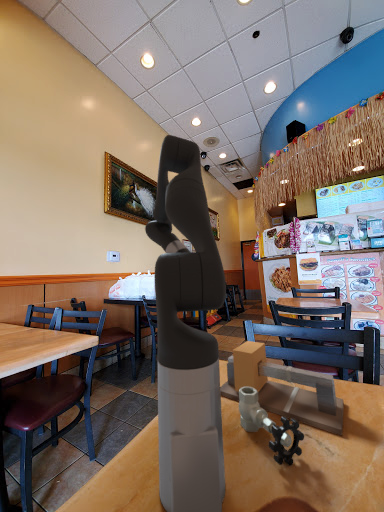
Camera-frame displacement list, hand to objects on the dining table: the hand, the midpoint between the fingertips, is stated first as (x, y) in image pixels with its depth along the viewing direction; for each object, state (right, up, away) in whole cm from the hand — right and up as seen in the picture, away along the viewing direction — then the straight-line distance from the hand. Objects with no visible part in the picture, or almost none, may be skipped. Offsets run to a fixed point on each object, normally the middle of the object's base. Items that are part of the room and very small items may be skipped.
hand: (206, 288), depth 66 cm
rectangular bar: (+16, -24, -17) cm, 33 cm away
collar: (+11, -23, -13) cm, 29 cm away
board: (+16, -24, -17) cm, 33 cm away
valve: (+9, -23, -29) cm, 38 cm away
